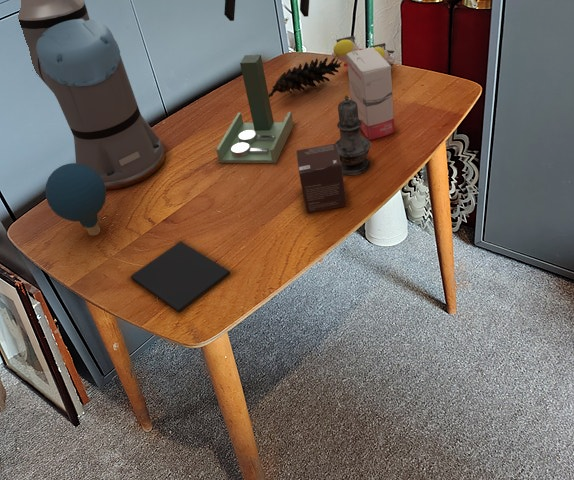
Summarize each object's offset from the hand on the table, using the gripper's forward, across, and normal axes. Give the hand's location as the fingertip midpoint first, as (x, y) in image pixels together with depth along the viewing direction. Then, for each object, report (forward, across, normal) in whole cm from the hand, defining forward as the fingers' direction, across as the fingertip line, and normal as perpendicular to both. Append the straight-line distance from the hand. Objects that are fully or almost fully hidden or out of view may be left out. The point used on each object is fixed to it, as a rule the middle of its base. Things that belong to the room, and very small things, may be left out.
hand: (265, 15), depth 107 cm
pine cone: (+10, -4, -13) cm, 16 cm away
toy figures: (+2, -15, -20) cm, 25 cm away
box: (+33, -15, +10) cm, 37 cm away
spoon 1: (+21, 0, 0) cm, 21 cm away
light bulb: (+40, +18, +18) cm, 48 cm away
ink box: (+18, -19, -4) cm, 27 cm away
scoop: (+22, 0, -1) cm, 22 cm away
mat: (+46, +1, +23) cm, 51 cm away
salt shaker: (+26, -18, +4) cm, 32 cm away
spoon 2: (+24, 0, +3) cm, 24 cm away
